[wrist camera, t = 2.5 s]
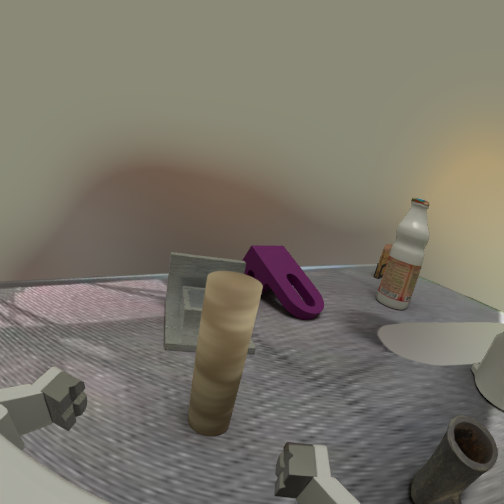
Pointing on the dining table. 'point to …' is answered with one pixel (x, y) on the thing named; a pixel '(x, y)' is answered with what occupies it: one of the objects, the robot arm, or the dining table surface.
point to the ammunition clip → (383, 261)
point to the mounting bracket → (284, 280)
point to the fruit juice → (405, 258)
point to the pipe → (455, 463)
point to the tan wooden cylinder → (222, 348)
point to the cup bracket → (191, 297)
